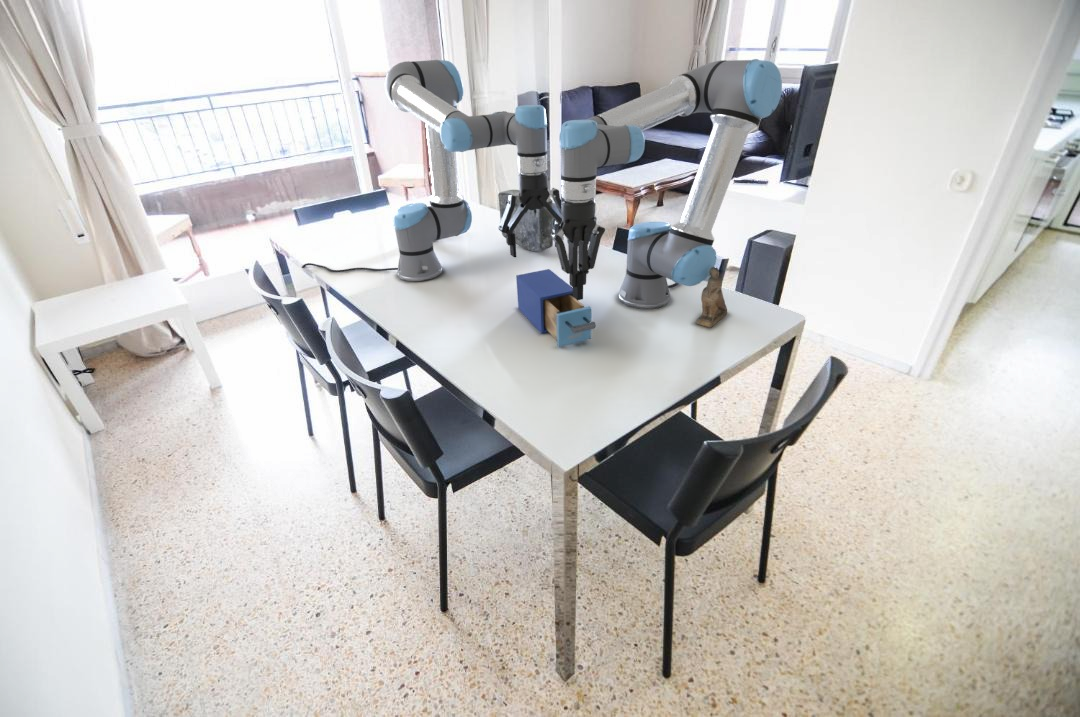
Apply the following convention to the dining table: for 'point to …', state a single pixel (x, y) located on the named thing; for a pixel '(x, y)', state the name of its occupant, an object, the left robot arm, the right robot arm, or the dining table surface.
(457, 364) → the dining table surface
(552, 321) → the drawer
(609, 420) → the dining table surface
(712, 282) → the worn brown figurine
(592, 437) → the dining table surface
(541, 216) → the concrete block
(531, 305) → the cabinet
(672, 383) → the dining table surface
